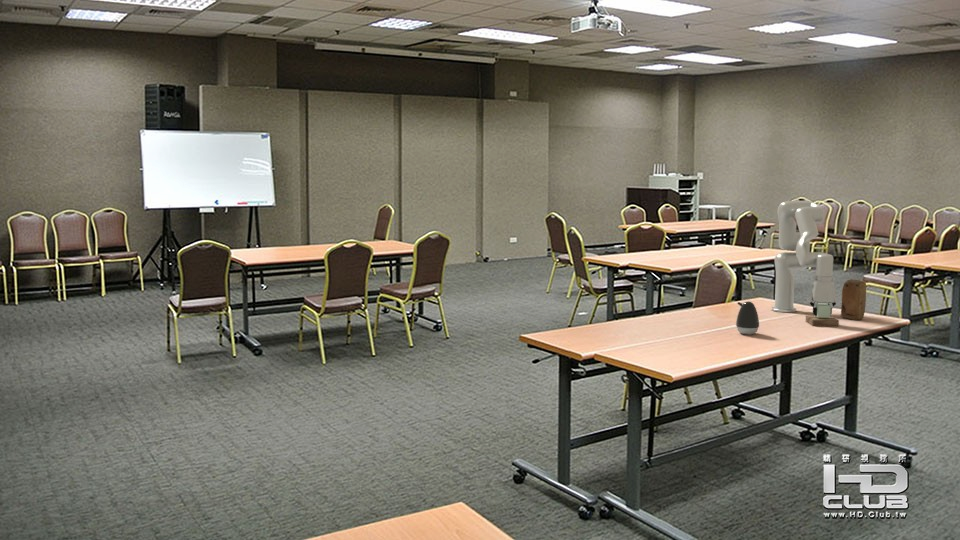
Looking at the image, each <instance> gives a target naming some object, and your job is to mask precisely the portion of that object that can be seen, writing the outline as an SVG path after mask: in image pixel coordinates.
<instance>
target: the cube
mask: <svg viewBox="0 0 960 540" xmlns="http://www.w3.org/2000/svg"><path fill="white" fill-rule="evenodd" d="M816 308H817V316H816V317H818V318H830V315H832V314H831V305H829V304H828V303H818V304H817V306H816ZM813 316H815V315H814V314H813Z"/></svg>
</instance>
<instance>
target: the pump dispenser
mask: <svg viewBox="0 0 960 540" xmlns="http://www.w3.org/2000/svg"><path fill="white" fill-rule="evenodd" d="M737 305H739V306H740V308H739V310H738V313H737V317H736V322H735V326H736V328H737V331H738V332H739V333H740V334H742V335H747V336H748V335H749V336H750V335H754V334H756V333H757V332H758V330H759V328H760V321H759V319H760V318H759V314H758V311H757V308H756V306H755V304H754V303H753V302H751V301H745V302H743V303H742V302H740V301H737Z"/></svg>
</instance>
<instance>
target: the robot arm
mask: <svg viewBox="0 0 960 540" xmlns="http://www.w3.org/2000/svg"><path fill="white" fill-rule="evenodd" d="M777 218H778V224H779V227H778V229H779V230H778V247H779V249H781V250H783V251H795V252H780V253H778V254H776V256H775V257H774V268H775V287H774V288H775V291H774V306H771V311H773V312H779V313H796V312H797V308H796V307H794V304H795V303H794V302H795V301H794V300H795V298H794V297H795V280H796V279H795V276H794V274H793V273H792V272H791V271H803V270H806V269H807V268H815V275H814V276H812V280H813V281H814V282H813V285H812V289H811V290H812V291H811V295H809V297H807V299H806V302H807V303H809V305H810V306H811V307H812V314H813V316H814V315H815V316H817V308H816V306H817V304H829V305H831V315H832V313H833V308H834V306H836V305H837V304H838V303H839V302H840V300H839V298H838V297H837V296H836V289H835V288H836V287H835V283H834V282H833V273H834V272H833V271H834V270H833V269H834V256H833V255H832V254H829V253H827V252H821V251H818V252H817V251H816V252H815V251H813V252H812V251H811V250H810V249H811V240H813V239H815V238H817V237H818V235H819V230H818V227H817V226H818V225H817V224H822V223H823V222H825V219H826V212H825V211H824V209H823V208H822V207H821V206H820V205H819V204H816V203H815V202H813V201H811V200H786V201H783V202H780V204H779V205H778V207H777ZM794 218H795V219H794ZM795 220H796V221H795ZM797 228H798V231H799V232H798V231H797ZM810 251H811V252H810ZM812 301H813V302H812ZM831 315H830V316H831ZM831 317H832V316H831Z"/></svg>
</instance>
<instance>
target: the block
mask: <svg viewBox="0 0 960 540" xmlns="http://www.w3.org/2000/svg"><path fill="white" fill-rule="evenodd" d="M843 283H844V284H843V286H842V290H841V307H840V317H841V318H843V319H848V320H854V321H861V320H863V319H864V317H865V316H864V315H865V312H866V301H867V282H866V281H865V280H860V279H848V280H846V281H845V282H843Z"/></svg>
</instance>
